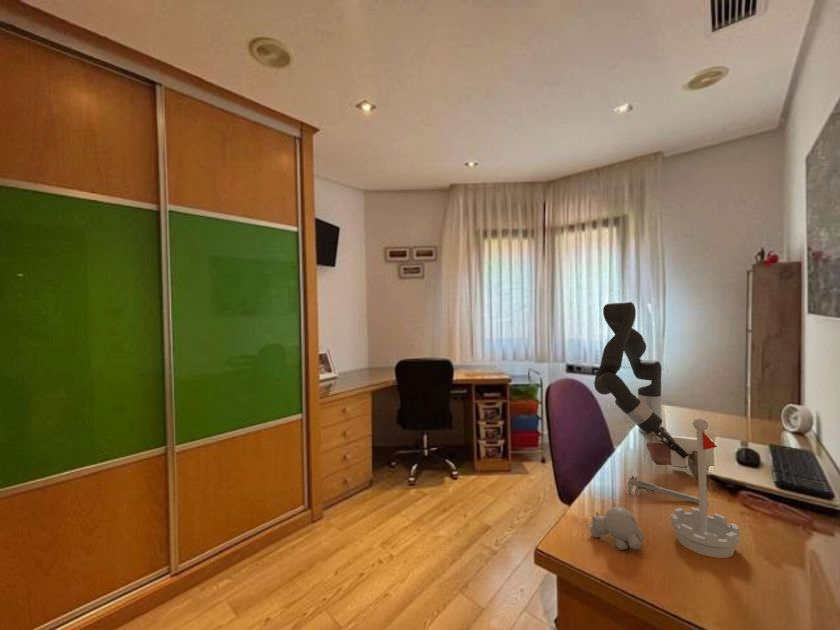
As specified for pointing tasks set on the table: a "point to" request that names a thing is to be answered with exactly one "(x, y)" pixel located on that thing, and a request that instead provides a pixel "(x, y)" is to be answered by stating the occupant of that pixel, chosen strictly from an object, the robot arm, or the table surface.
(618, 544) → the chubby cartoon animal
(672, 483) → the table surface
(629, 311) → the robot arm
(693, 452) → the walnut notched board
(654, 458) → the wooden tablet
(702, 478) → the flag stand
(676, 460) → the white notched plate
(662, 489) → the caliper
